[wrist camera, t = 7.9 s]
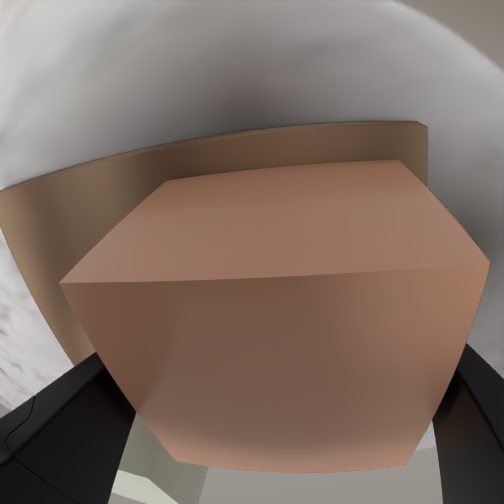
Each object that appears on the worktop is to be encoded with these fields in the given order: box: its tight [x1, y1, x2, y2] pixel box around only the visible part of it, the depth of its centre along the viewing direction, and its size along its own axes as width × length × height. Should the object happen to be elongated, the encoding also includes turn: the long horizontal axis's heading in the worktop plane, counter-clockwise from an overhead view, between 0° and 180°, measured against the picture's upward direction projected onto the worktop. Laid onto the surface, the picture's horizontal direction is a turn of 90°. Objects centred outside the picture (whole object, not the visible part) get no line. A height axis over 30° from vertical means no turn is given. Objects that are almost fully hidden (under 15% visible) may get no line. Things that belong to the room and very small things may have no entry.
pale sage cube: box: [111, 413, 209, 504], centre depth 16 cm, size 7×7×6 cm
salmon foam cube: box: [59, 160, 490, 473], centre depth 8 cm, size 7×7×6 cm
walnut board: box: [0, 121, 428, 366], centre depth 15 cm, size 18×18×1 cm
